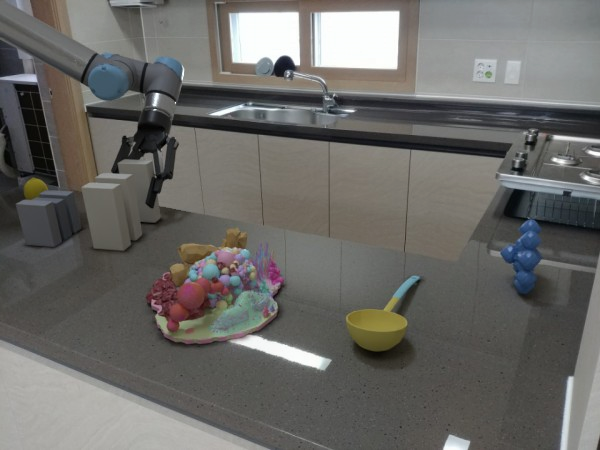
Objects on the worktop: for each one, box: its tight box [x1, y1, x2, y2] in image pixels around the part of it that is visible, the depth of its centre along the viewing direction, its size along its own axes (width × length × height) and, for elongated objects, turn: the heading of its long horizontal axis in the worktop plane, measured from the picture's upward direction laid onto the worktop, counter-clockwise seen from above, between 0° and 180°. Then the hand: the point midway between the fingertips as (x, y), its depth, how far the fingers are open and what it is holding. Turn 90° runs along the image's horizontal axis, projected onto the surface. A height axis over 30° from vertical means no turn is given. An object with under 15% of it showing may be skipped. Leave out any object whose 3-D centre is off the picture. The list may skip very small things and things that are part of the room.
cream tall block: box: [118, 159, 162, 224], centre depth 122 cm, size 3×7×14 cm, turn 77°
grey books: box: [15, 189, 82, 248], centre depth 117 cm, size 10×7×9 cm
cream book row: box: [81, 172, 143, 252], centre depth 112 cm, size 8×7×14 cm
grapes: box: [499, 218, 544, 295], centre depth 91 cm, size 12×7×12 cm, turn 160°
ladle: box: [345, 275, 421, 352], centre depth 85 cm, size 9×26×6 cm, turn 153°
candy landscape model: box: [145, 227, 285, 345], centre depth 90 cm, size 25×24×9 cm
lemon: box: [23, 177, 49, 200], centre depth 133 cm, size 6×6×8 cm
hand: (133, 204), depth 120 cm, fingers closed on cream tall block, 7 cm apart
